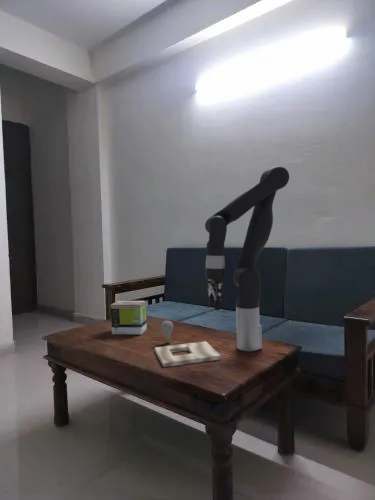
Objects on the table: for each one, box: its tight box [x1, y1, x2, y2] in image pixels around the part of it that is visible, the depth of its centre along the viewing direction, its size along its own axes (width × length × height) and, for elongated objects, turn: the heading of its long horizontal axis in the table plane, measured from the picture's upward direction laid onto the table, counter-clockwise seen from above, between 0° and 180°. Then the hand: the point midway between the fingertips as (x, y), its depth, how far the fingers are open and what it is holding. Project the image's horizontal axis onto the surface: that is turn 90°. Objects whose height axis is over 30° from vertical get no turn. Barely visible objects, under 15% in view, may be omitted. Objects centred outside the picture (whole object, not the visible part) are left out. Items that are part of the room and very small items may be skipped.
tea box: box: [109, 300, 148, 335], centre depth 175 cm, size 15×10×15 cm, turn 80°
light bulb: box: [160, 320, 174, 344], centre depth 156 cm, size 6×6×10 cm
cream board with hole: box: [154, 341, 222, 368], centre depth 141 cm, size 22×18×2 cm
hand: (214, 307), depth 142 cm, fingers open, 8 cm apart
